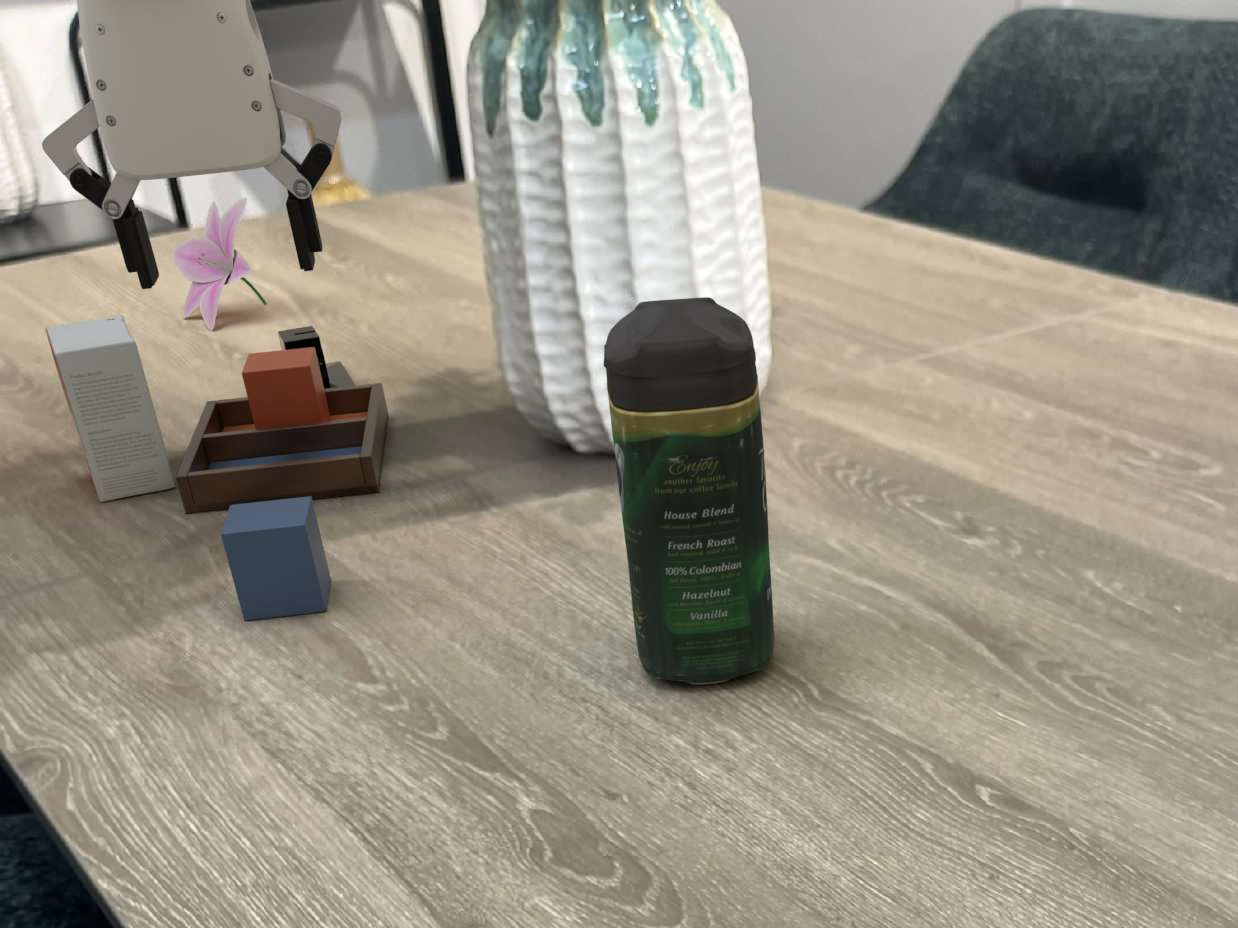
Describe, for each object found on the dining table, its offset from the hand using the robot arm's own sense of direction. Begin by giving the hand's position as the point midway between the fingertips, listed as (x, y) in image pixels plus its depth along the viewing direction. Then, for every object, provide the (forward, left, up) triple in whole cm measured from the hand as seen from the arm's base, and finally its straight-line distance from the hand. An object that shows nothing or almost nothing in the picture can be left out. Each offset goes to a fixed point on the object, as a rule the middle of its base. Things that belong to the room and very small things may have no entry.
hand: (230, 274), depth 106 cm
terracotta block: (-1, +20, -16) cm, 26 cm away
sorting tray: (-1, +16, -17) cm, 23 cm away
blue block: (+1, -11, -17) cm, 20 cm away
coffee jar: (+26, -26, -17) cm, 40 cm away
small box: (-13, +16, -17) cm, 27 cm away
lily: (-11, +62, -17) cm, 65 cm away
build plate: (-1, +34, -17) cm, 38 cm away
